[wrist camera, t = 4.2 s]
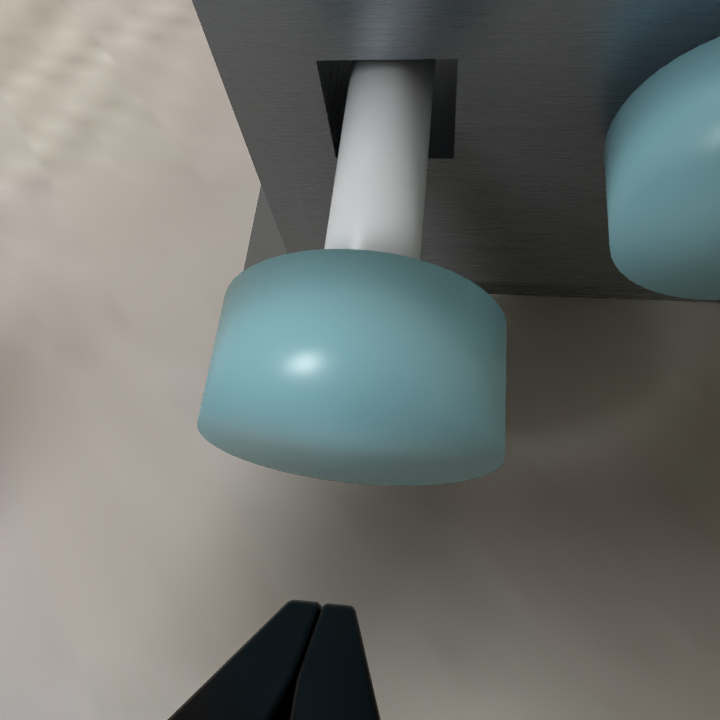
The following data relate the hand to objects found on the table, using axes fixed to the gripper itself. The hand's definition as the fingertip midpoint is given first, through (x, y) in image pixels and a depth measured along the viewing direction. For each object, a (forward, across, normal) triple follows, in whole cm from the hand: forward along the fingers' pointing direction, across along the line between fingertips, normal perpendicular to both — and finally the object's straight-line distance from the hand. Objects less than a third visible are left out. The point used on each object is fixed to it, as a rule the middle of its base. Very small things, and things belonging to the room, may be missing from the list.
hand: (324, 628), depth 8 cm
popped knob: (+6, 0, -3) cm, 7 cm away
